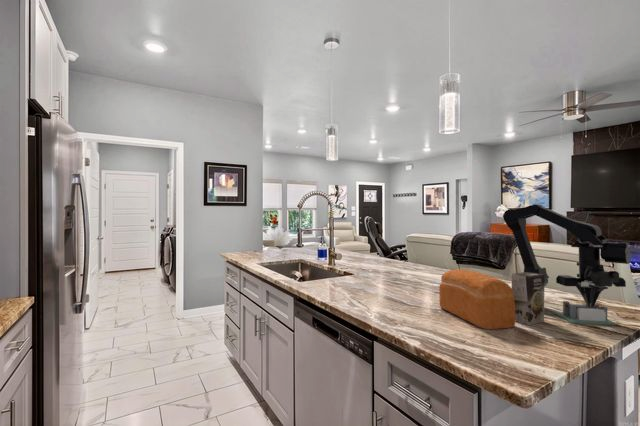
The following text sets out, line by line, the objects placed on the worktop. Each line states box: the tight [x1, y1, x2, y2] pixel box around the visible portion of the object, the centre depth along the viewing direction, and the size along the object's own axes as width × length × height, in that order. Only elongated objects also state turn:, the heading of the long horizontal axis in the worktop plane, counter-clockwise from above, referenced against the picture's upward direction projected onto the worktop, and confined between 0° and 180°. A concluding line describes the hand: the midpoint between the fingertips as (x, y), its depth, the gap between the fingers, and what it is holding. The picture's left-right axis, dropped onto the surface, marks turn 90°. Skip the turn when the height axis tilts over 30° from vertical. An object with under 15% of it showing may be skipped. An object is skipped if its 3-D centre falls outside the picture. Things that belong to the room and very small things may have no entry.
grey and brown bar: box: [566, 301, 603, 309], centre depth 114 cm, size 10×2×2 cm, turn 81°
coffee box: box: [511, 271, 545, 326], centre depth 112 cm, size 9×6×16 cm
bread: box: [438, 268, 516, 330], centre depth 117 cm, size 14×26×16 cm, turn 12°
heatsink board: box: [554, 300, 616, 326], centre depth 114 cm, size 13×10×5 cm
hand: (590, 305), depth 113 cm, fingers closed, pressing on grey and brown bar
